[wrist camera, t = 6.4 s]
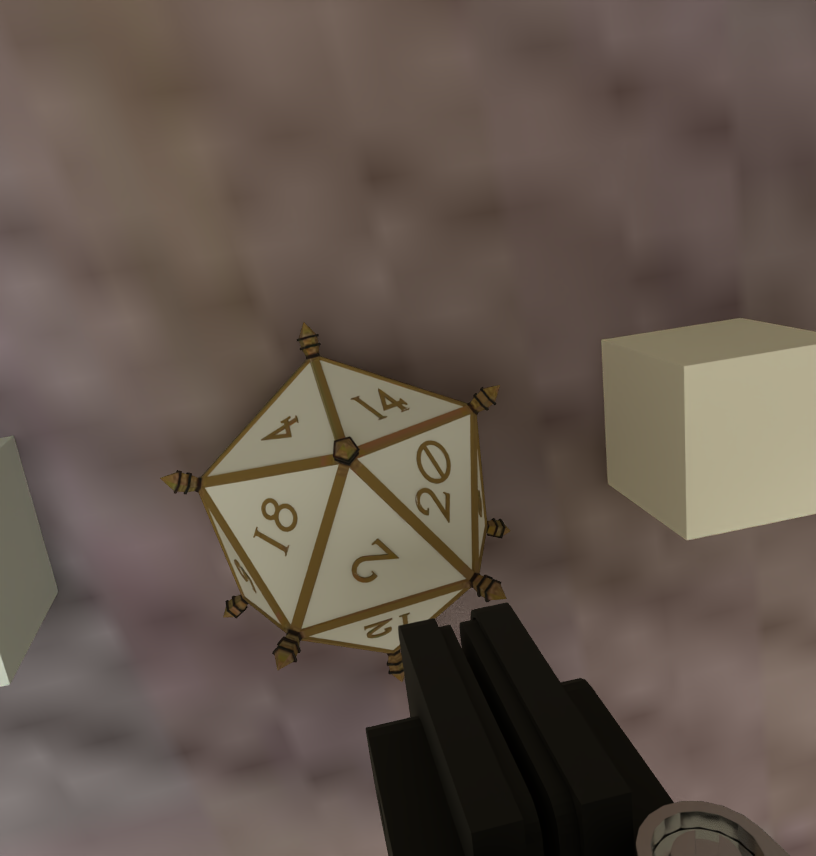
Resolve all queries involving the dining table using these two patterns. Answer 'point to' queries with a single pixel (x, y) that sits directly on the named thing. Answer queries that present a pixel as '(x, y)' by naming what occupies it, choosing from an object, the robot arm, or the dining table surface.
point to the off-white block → (713, 424)
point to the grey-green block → (20, 565)
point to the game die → (351, 507)
